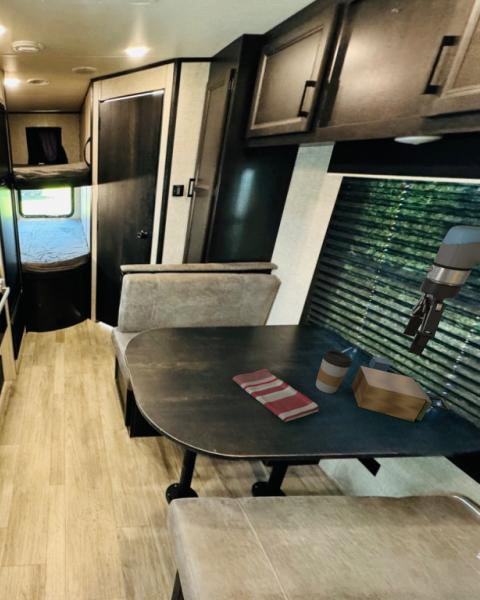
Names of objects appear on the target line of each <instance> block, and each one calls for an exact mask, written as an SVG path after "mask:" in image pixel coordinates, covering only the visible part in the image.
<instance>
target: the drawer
mask: <svg viewBox="0 0 480 600" xmlns="http://www.w3.org/2000/svg"><path fill="white" fill-rule="evenodd" d="M415 382H416V384H417V385H418V387H419V388H420V390H421V392H422V393H423V395H424V396H425V398H426V399H427V400H426V402H425V404H424V405H423V407H422V409H421V410H420V412H419V414H418V415H417V417H416V419H415V420H418V421H422V420H423V418H424V417H425V415H426V414H427V412H428V411H429V408H430V407H432V408H435V409H440V410H444V411H446V412H448V413H452V412H453V409H452V407H451V406H450V405H449V404H448V402H447V401H446V399H445V398H443V397H435V396H432V395H428V393H426V391H425V389H424V387H422V385H421V383H420V382H419V381H415ZM431 399H432V400H435V401H439V402H440V403H441V404H442V406H441V405H437V404H433V402H432V400H431Z"/></svg>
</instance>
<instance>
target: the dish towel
mask: <svg viewBox="0 0 480 600" xmlns="http://www.w3.org/2000/svg"><path fill="white" fill-rule="evenodd" d="M232 381H233V382H235V384H237V385H238V386H240V388H242V390H244V391H245V392H246V393H248V394H249V395H250V397H252V398H254V399H255V400H257V401H258V402H259V403H260V404H262V405H263V406H264V407H265V408H266V409H267V410H268V411H270V412H271V413H272V414H274V416H276V417H277V418H279V419H280V420H281V421H283V422H284V423H286V422H290V421H294V420H296V419H300V418H302V417H306V416H309V415H311V414H314V413H317V412H319V409H320V406H319V405H318V404H317V403H316V402H314V401H313V400H312V399H311V398H309V397H308V396H307V395H305V394H303V393H301V392H299V391H298V390H296V389H294V388H293V387H292V386H291V385H289V384H288V383H286V382H285V381H284V380H282V379H279V378H278V377H276V376H275V375H274V374H273V373H271V371H269V369H268V368H267V367H265V368H263V369H259V370H256V371H254V372H249V373H241V374H237V375H235V376H233V377H232Z"/></svg>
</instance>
